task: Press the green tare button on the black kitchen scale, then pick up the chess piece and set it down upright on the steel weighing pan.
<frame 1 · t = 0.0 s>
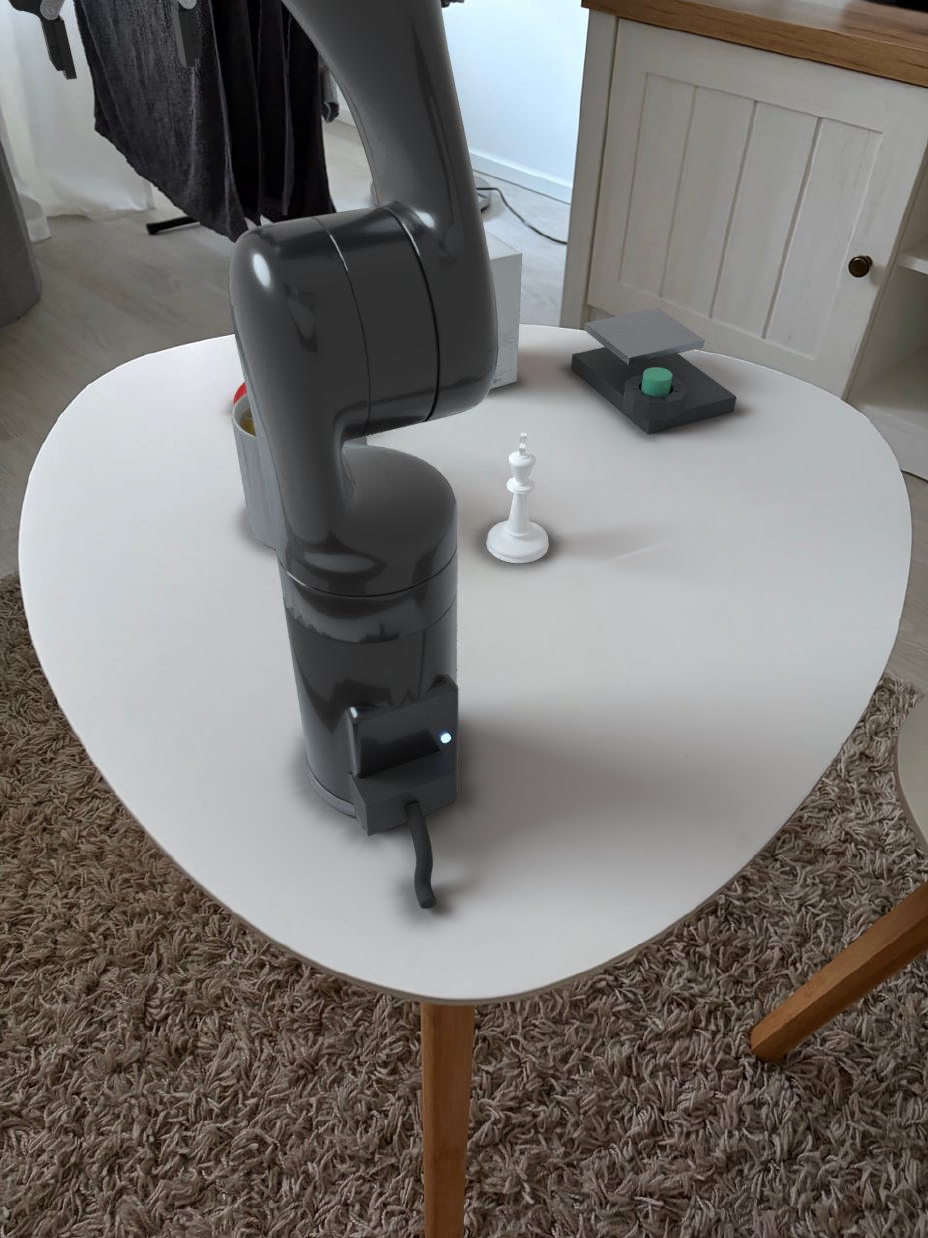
hand: (130, 71, 72), 29 cm above the table, tool pointing down, fingers open, 8 cm apart
chess piece: (517, 546, 78), on the table
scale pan: (643, 334, 96), point 5 cm above the table, slide at 0.0 cm
tracker holder: (290, 415, 93), on the table
scale: (649, 390, 97), on the table
tare button: (656, 382, 90), point 4 cm above the table, slide at 0.1 cm
small box: (470, 375, 99), on the table
coffee mug: (312, 506, 82), on the table
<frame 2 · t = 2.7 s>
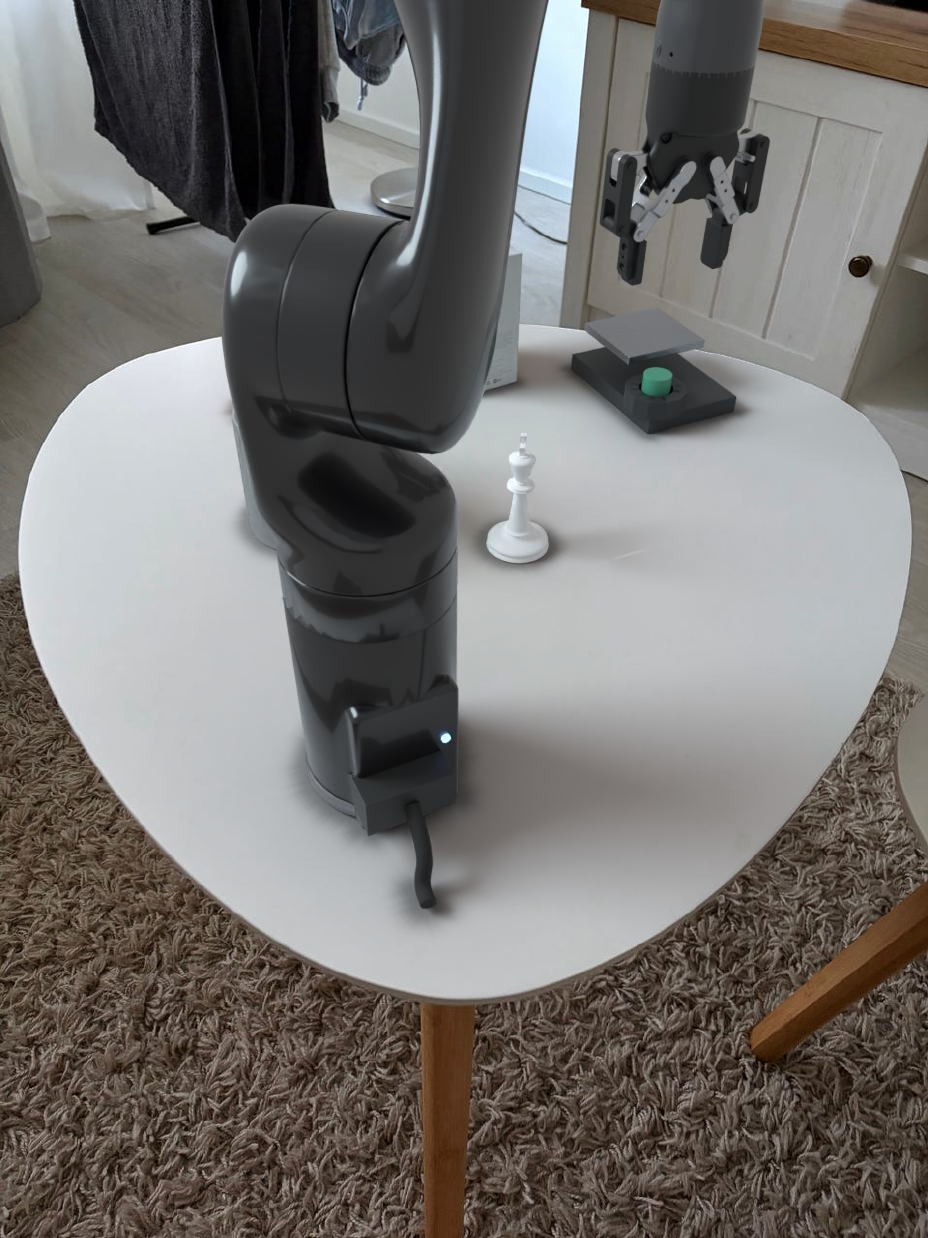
hand: (671, 273, 83), 14 cm above the table, tool pointing down, fingers open, 7 cm apart
nothing on the table moved.
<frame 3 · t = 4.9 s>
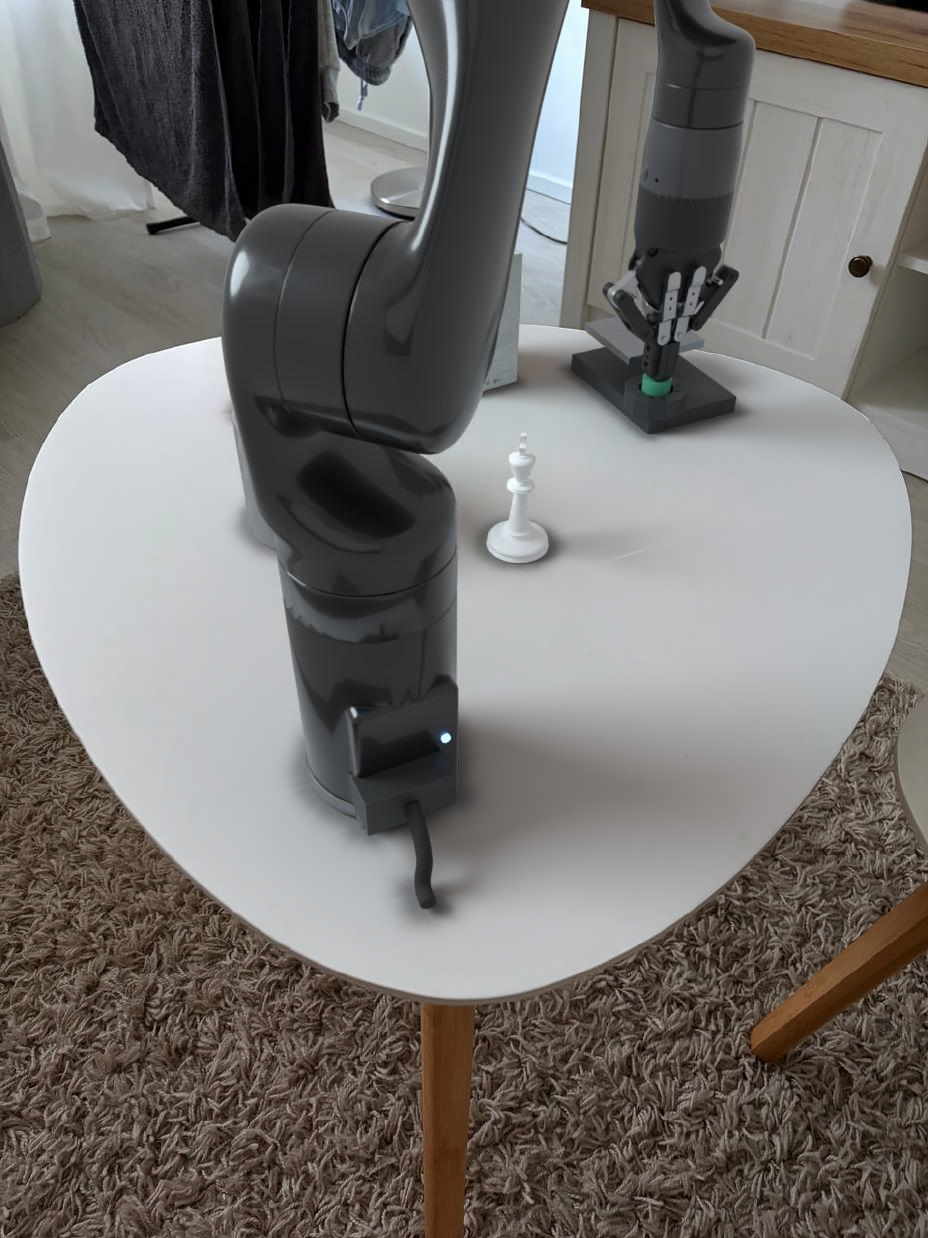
hand: (657, 376, 89), 5 cm above the table, tool pointing down, fingers closed
tare button: (656, 385, 90), point 4 cm above the table, slide at -0.2 cm, touching gripper
everything else where it was.
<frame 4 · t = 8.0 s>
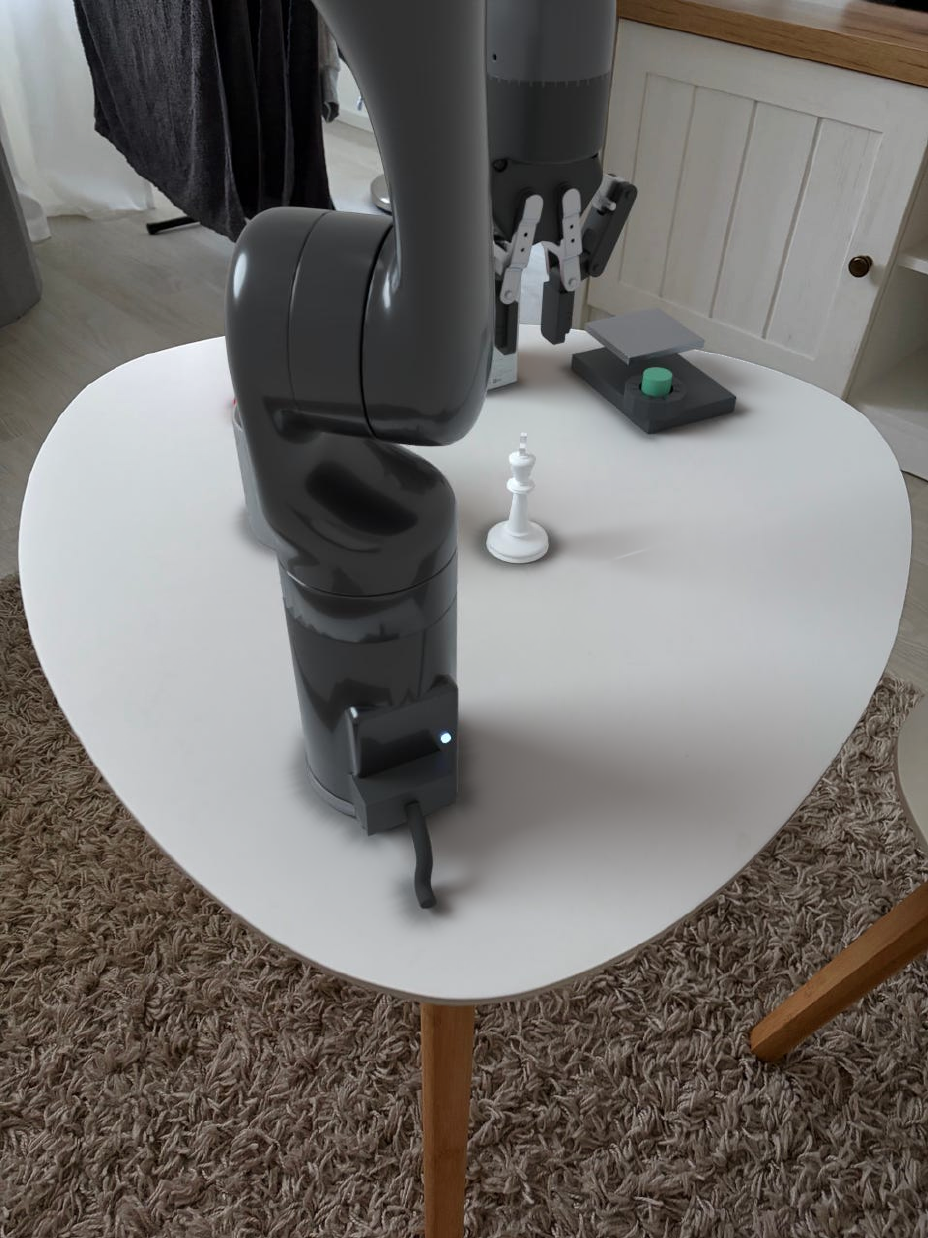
hand: (528, 343, 67), 17 cm above the table, tool pointing down, fingers open, 3 cm apart
tare button: (656, 382, 90), point 4 cm above the table, slide at 0.1 cm
everything else where it was.
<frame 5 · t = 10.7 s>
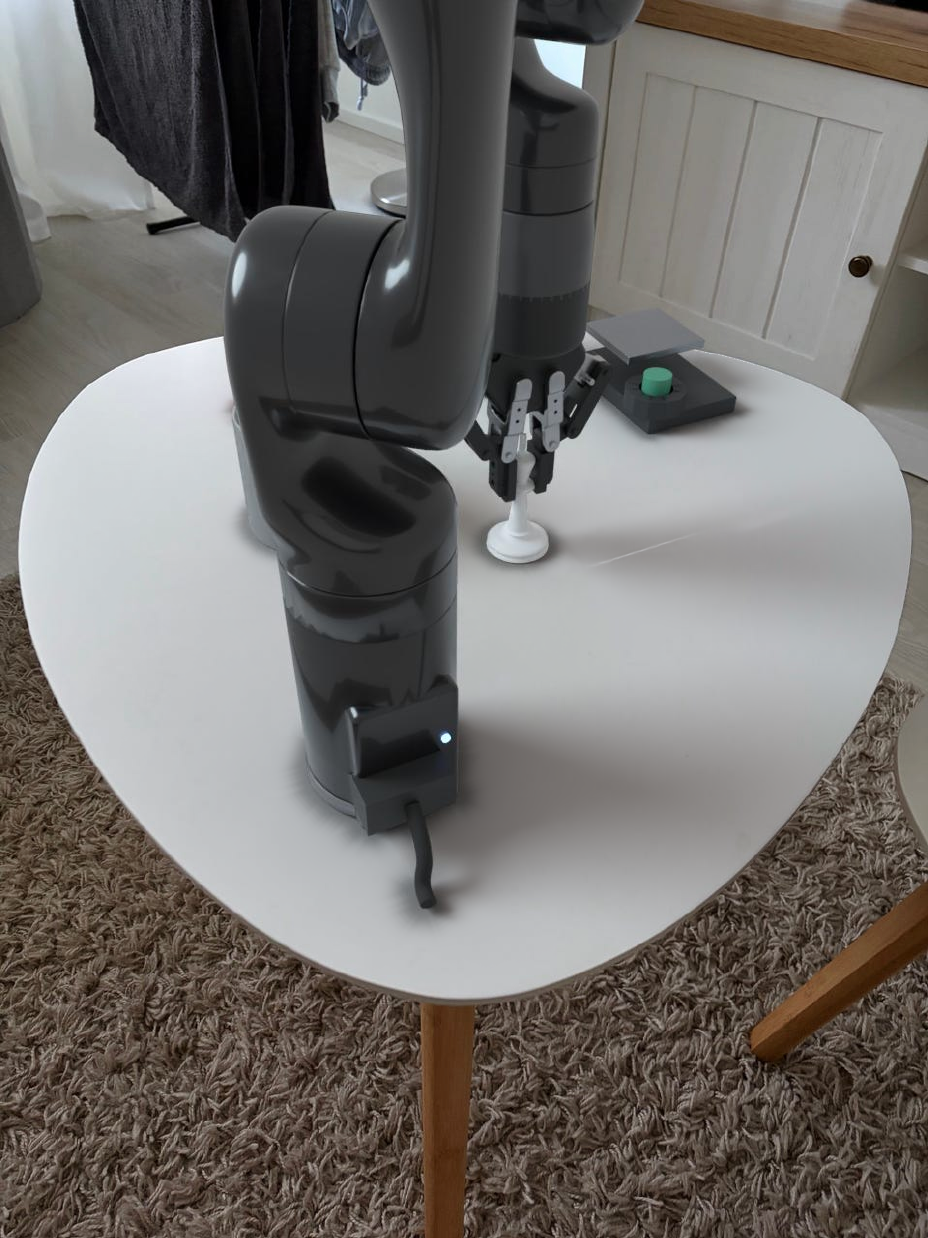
hand: (520, 491, 75), 5 cm above the table, tool pointing down, fingers closed on chess piece
chess piece: (517, 546, 78), on the table, touching gripper
everything else where it was.
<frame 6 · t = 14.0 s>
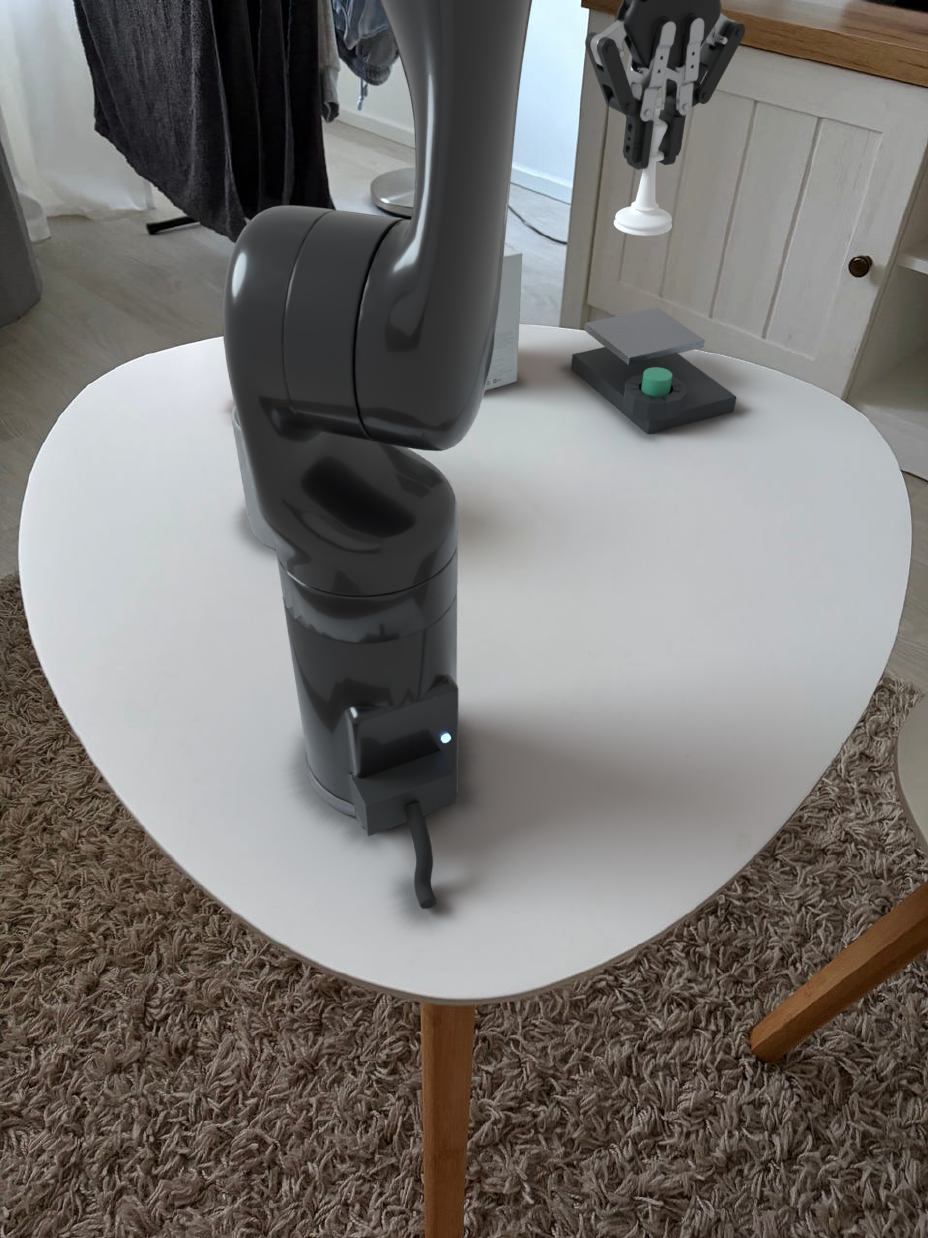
hand: (650, 163, 81), 22 cm above the table, tool pointing down, fingers closed on chess piece
chess piece: (642, 227, 84), point 17 cm above the table, touching gripper
everything else where it was.
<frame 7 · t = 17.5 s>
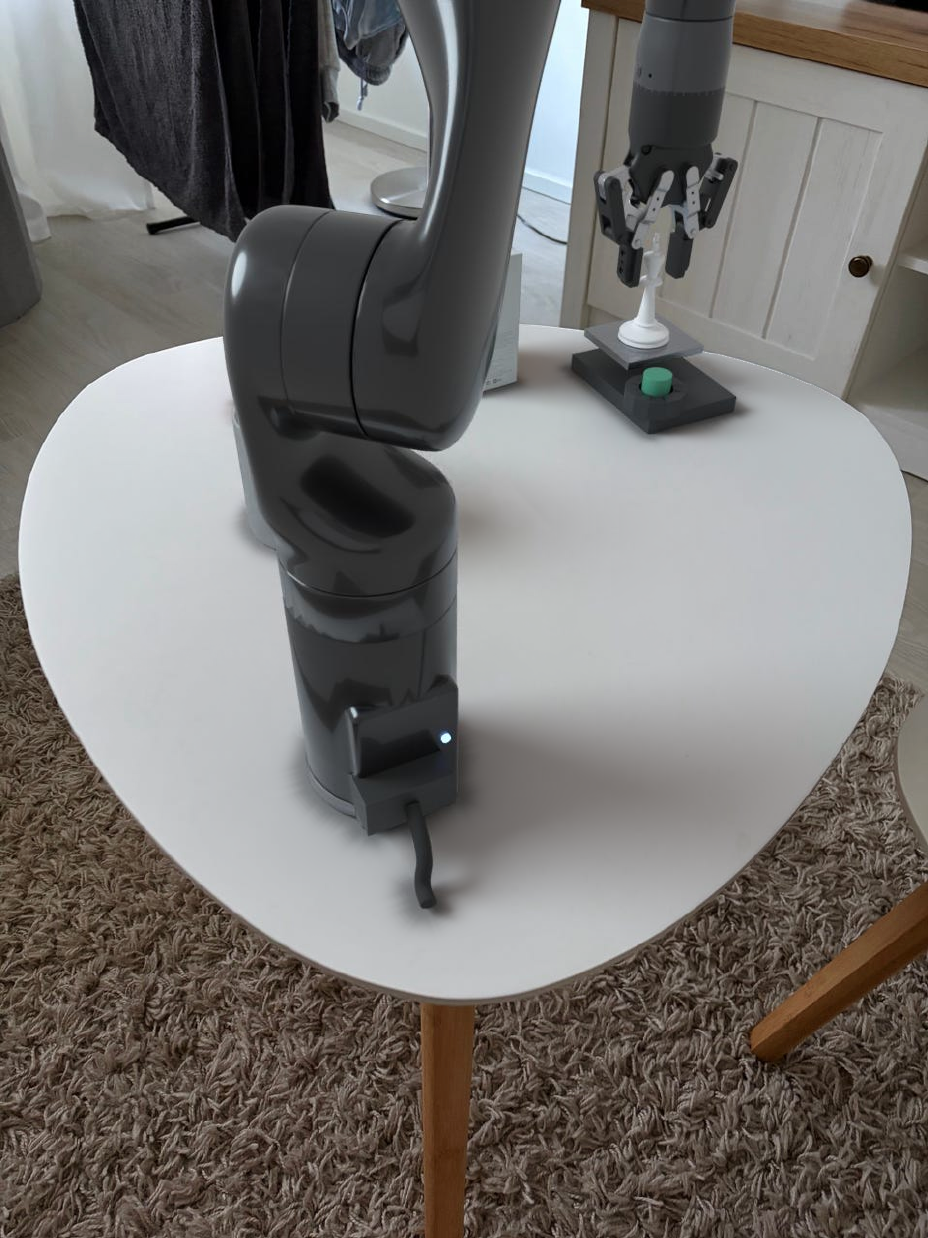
hand: (652, 278, 92), 10 cm above the table, tool pointing down, fingers open, 4 cm apart
chess piece: (642, 339, 96), point 4 cm above the table, touching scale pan
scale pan: (642, 340, 96), point 4 cm above the table, slide at -0.6 cm, touching chess piece
everything else where it was.
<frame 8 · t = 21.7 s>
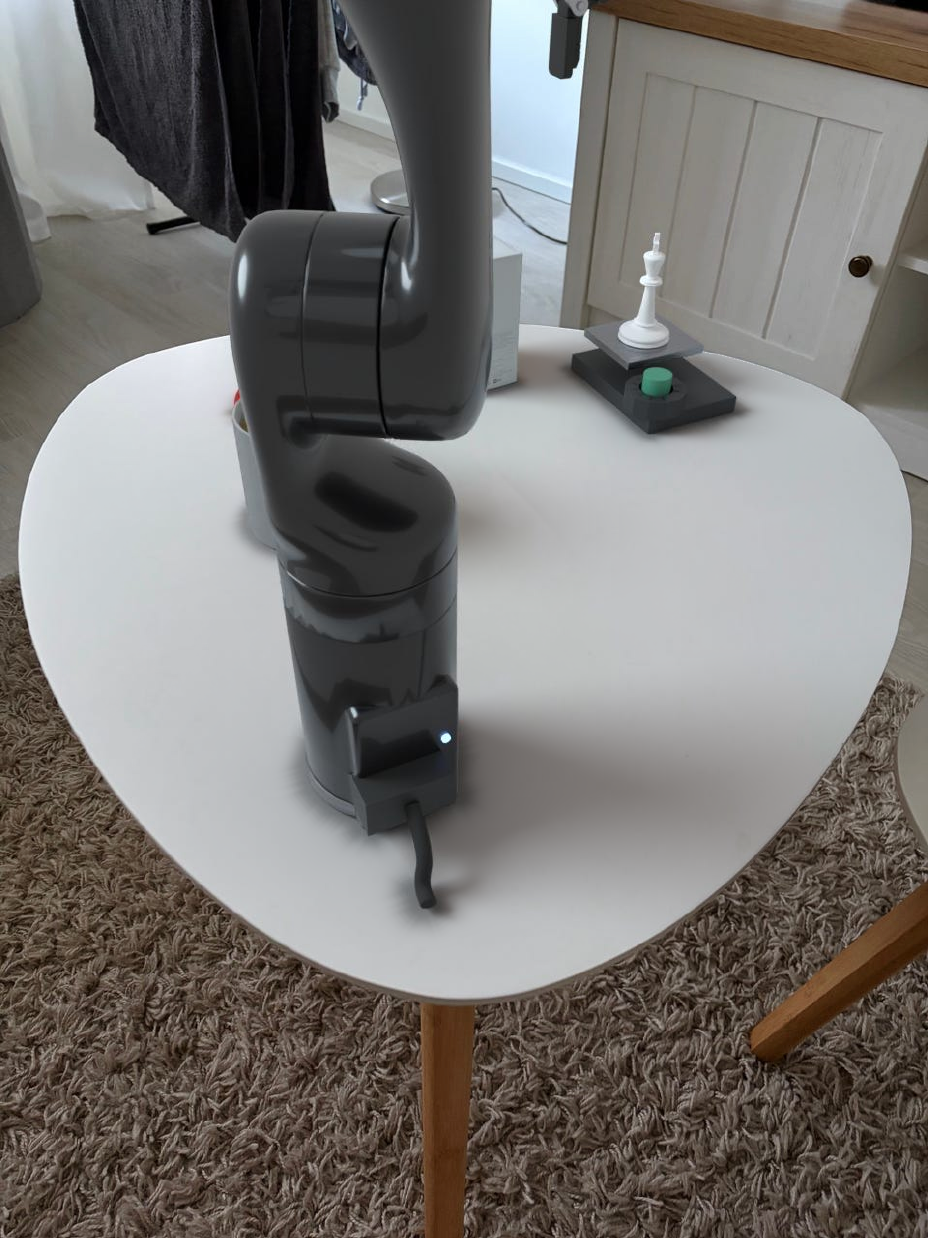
hand: (506, 82, 67), 30 cm above the table, tool pointing down, fingers open, 8 cm apart
nothing on the table moved.
at the end: tare button pushed in 1.1 cm at the most during the clip, back to where it started at the end; chess piece 0.2 cm from the target spot on the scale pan, point 4.8 cm above the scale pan's base; chess piece tilted 0° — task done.
